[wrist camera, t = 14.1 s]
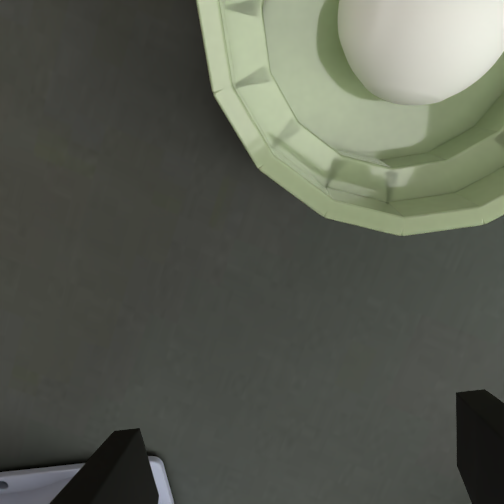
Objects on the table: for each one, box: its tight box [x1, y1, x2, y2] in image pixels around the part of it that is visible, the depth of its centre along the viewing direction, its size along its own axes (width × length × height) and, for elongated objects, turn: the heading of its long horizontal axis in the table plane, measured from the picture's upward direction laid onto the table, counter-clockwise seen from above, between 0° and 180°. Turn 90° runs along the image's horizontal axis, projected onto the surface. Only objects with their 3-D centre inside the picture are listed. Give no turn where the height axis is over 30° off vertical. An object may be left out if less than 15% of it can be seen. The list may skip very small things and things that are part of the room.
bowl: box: [196, 0, 504, 236], centre depth 14 cm, size 12×12×4 cm
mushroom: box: [338, 0, 504, 105], centre depth 13 cm, size 5×5×5 cm
